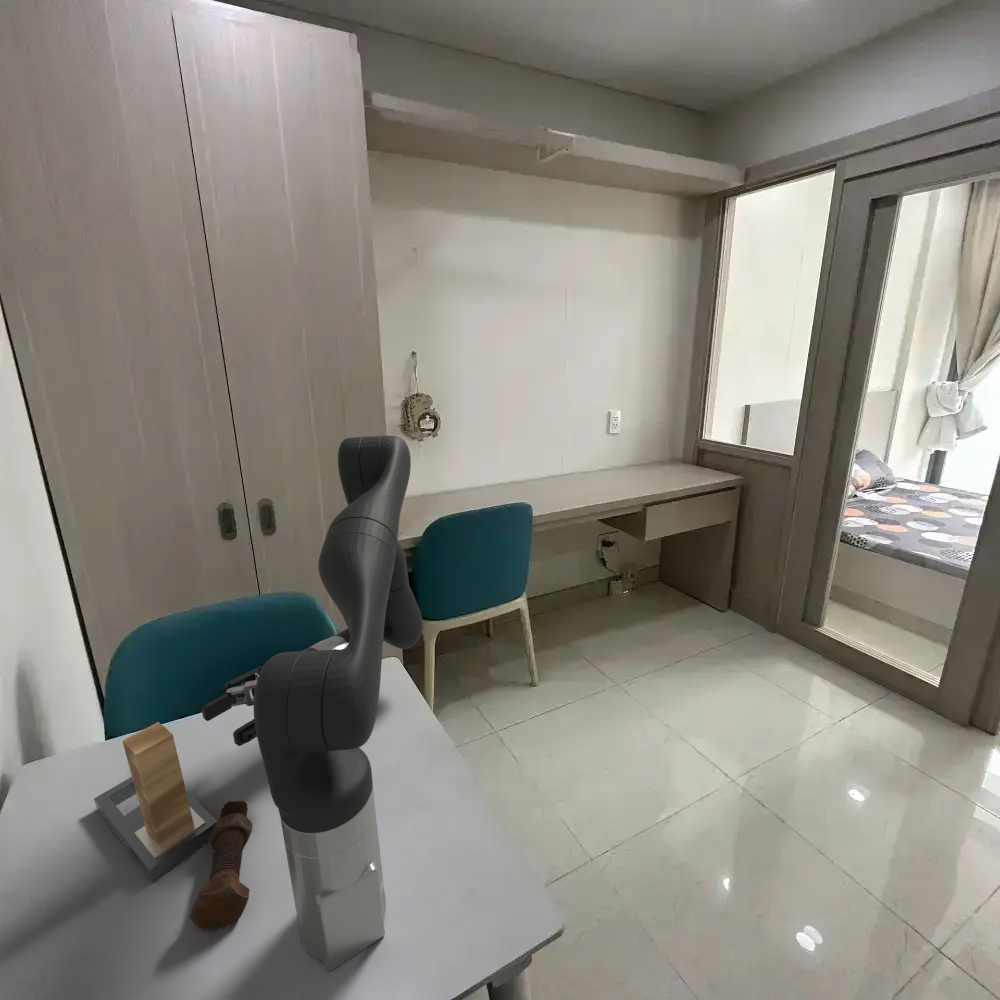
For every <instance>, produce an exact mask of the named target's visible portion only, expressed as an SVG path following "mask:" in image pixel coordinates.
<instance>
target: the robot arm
mask: <svg viewBox="0 0 1000 1000" xmlns="http://www.w3.org/2000/svg"><path fill="white" fill-rule="evenodd" d="M411 462H412V461H411V452H410V449H409V445H408V444H407V442H406V441H405V440H404V439H403V438H402V437H400V436H396V435H391V434H390V435H387V434H386V435H375V436H374V435H373V436H372V435H370V436H355V437H354V436H352V437H347V438H345V439H343V440H342V441H341V442H340V444H339V448H338V451H337V469H338V474H339V479H340V484H341V487H342V490H343V495H344V497H345V500H346V503H347V506H346V507H344V509H342V510H341V511H340V513H338V514H337V515H336V516H335V518H334V519H333V521H332V522H331V523H330V525H329V526H328V530H327V531H326V532H327V533H326V535H325V537H324V541H323V545H322V548H321V552H320V554H319V558H318V567H317V568H318V572H319V577H320V580H321V582H322V585H323V586H324V589H325V591H326V592H327V594H328V595H329V597H330V598H331V600H332V601H333V603H334V604H335V606H336V608H338V610H339V612H340V613H341V615H342V617H343V619H344V622H345V624H346V627H347V628H346V629H344V630H342V631H340V632H339V633H337V634H334V635H333V636H330V637H329V638H326V639H323V640H321V641H319V642H317V643H315V644H313V645H311V646H309V647H308V648H306V649H303V650H298V651H287V652H286V651H284V652H280V653H277V654H275V655H273V656H272V657H270V658H269V659H268V660H267V661H266V662H265V663H264V665H263V666H258V667H256V668H254V669H251V670H249V671H247V672H246V673H243V674H241V675H238V676H237V677H235V678H232V679H231V680H229V681H227V682H226V683H224V688H225V693H224V694H222V695H221V696H218V697H216V698H215V699H214V700H211V701H209V702H208V703H206V704H204V705H203V706H202V707H201V714H202V718H203V719H204V720H205V721H207V722H209V721H211V720H213V719H214V718H216V717H218V716H220V715H222V714H223V713H225V712H227V711H229V710H231V709H233V708H232V707H238V706H241V705H246V707H253V719H251V720H250V721H248V722H246V723H245V724H243V725H241V726H240V727H238V728H236V729H235V730H234V731H233V732H232V736H233V742H234V744H235V745H236V746H238V747H241V746H243V745H245V744H247V743H249V742H251V741H253V740H254V739H257V743H258V747H259V751H260V755H261V759H262V763H263V766H264V769H265V774H266V779H267V783H268V787H269V792H270V795H271V798H272V802H273V803H274V805H275V806H276V808H277V809H278V812H279V813H278V814H279V817H280V824H281V830H282V836H283V841H284V842H283V843H284V847H285V853H286V859H287V865H288V871H289V877H290V882H291V888H292V889H291V890H292V895H293V901H294V906H295V912H296V916H297V917H296V918H297V923H298V929H299V934H300V940H301V943H302V945H303V947H304V949H305V950H306V952H307V953H308V954H309V955H310V956H312V957H313V958H314V959H316V960H319V961H321V962H323V963H324V964H325V965H326V969H327V971H328V972H331V971H333V970H334V969H337V967H340V966H341V965H342V964H344V963H345V962H347V961H349V960H350V959H351V958H352V957H354V956H356V955H358V954H359V953H360V952H362V951H363V950H364V949H367V947H369V946H371V945H372V944H374V943H375V942H377V941H378V940H380V939H381V938H383V937H384V936H385V934H386V930H385V921H384V919H385V915H386V895H385V884H384V876H383V868H382V867H383V866H382V859H381V849H380V839H379V831H378V830H379V829H378V823H377V813H376V802H375V800H376V799H375V793H374V784H373V783H374V782H373V772H372V766H371V761H370V760H369V759H370V758H369V757H368V756H367V754H366V752H365V751H363V749H362V748H361V747H363V746H364V745H365V744H366V743H367V742H368V741H369V739H370V737H371V735H372V733H373V731H374V728H375V724H376V719H377V715H378V710H379V708H378V707H379V701H380V699H379V698H380V690H381V676H382V662H383V661H382V660H383V650H384V649H383V646H384V642H385V643H387V644H389V645H391V646H393V647H394V648H398V649H400V650H406V649H410V648H412V647H414V646H415V645H416V643H418V641H419V640H420V637H421V635H422V632H423V624H424V622H423V617H422V616H423V615H422V612H421V610H420V608H419V605H418V603H417V600H416V598H415V595H414V593H413V591H412V588H411V587H410V583H409V574H408V573H409V572H408V567H407V565H408V564H407V558H406V555H405V552H404V549H403V547H402V545H401V543H400V542H399V541H398V539H399V527H400V526H399V525H400V519H401V517H400V516H401V513H402V507H403V504H404V501H405V497H406V492H407V489H408V485H409V480H410V474H411V469H412V468H411V465H412V464H411ZM240 684H241V685H240ZM238 685H239V686H238ZM253 689H254V693H252V692H253V691H252V690H253ZM253 694H254V696H253ZM242 695H244V696H242ZM239 696H241V697H239Z"/></svg>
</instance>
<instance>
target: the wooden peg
mask: <svg viewBox="0 0 1000 1000" xmlns="http://www.w3.org/2000/svg"><path fill="white" fill-rule="evenodd" d="M121 741H122V745H123V749H124V751H125V756H126V759H127V764H128V767H129V771H130V774H131V777H132V779H133V783H134V786H135V790H136V794H135V795H136V798H137V801H138V804H139V805H138V806H140V809H141V812H142V816H143V820H144V824H145V827H146V831H147V832H148V833H149V834H150V836H151V837H152V838H153V839H154V840H155V841H156V843H157V844H158V845H159V846H160V847H161V846H162V845H164V844H165V843H167V842H168V841H169V840H171V839H172V838H174V837H175V836H177V835H178V834H179V833H181V832H182V831H184V830H185V829H187V828H188V827H189V826H191V825H192V824H194V823H193V819H192V814H191V810H190V806H189V801H188V797H187V793H186V791H187V790H186V786H185V781H184V777H183V773H182V768H181V764H180V760H179V754H178V752H177V746H176V741H175V738H174V734H173V733H172V732H171V731H170V730H168V728H167V727H166V726H164V725H162V724H161V723H160V722H159V721H157V722H155V723H153V724H152V725H150V726H147V727H145V728H143V729H142V730H140V731H138V732H136V733H134V734H132V735H130V736H129V737H126V738H125V739H123V740H121Z"/></svg>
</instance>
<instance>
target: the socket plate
mask: <svg viewBox="0 0 1000 1000" xmlns="http://www.w3.org/2000/svg"><path fill="white" fill-rule="evenodd" d="M186 793H187V797H188V801H189V806H190V810H191V814H192V819H193V823H194V824H192V825H191V826H189V827H188V828H187V829H185V830H184V831H182V832H181V833H179V834H178V835H177V836H175V837H174V838H172V839H171V840H169V841H168V842H167V843H165V844H164V845H162V846H161V847H160V846H159V845H158V844H157V843H156V841H155V840H154V839H153V838H152V837H151V836H150V834H149V833H148V832H147V831H146V827H145V824H144V820H143V816H142V812H141V809H140V805H138V807H135V808H134V809H132V810H131V811H129V812H127V813H126V814H123V812H122V811H121V810H120V809H119V808H118V805H119V804H121V803H122V802H124V801H125V800H128V799H129V798H131V797H132V796H134V795H137V794H136V790H135V786H134V783H133V779H132V776H130V777H129V778H127V779H125V780H124V781H122V782H120V783H118V784H117V785H115V786H113V787H111V788H110V789H108V790H106V791H104V792H103V793H101V794H99V795H97V796H96V797H94V798H93V801H94V804H95V808H96V810H97V812H98V813H99V814H100V816H101V817H102V818H103V820H104V821H105V822H106V823H107V825H108V826H109V827H110V829H111V830H112V831H113V833H114V834H115V835H116V837H117V838H118V839H119V840H120V842H121V843H122V845H123V846H124V847H125V848H126V850H127V851H128V852H129V854H130V855H131V856H132V858H133V859H134V860H135V862H136V863H137V864H138V865H139V867H140V868H141V869H142V871H143V872H144V873H145V875H146V876H147V877H148V878H149V879H150V882H151V883H155V882H156V881H158V879H160V878H162V877H163V876H164V875H166V874H167V873H168V872H170V871H171V870H172V869H174V868H175V867H177V866H178V865H179V864H181V863H182V862H183V861H184V860H186V859H187V858H188V857H190V856H191V855H193V854H194V853H195V852H196V851H198V850H199V849H201V848H202V847H203V846H205V845H206V844H207V843H209V839H210V835H211V833H212V830H213V828H214V826H215V824H216V822H217V820H216V819H215V818H214V817H213V816H212V815H211V814H210V813H209V812H208V811H207V810H206V809H205V808H204V807H203V806H202V805H201V804H200V803H199V802H198V801H197V800H196V799H195V798H194V797H193V796H192V795H191V794H190V793H189V792H188V791H187V790H186Z"/></svg>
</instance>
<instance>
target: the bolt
mask: <svg viewBox="0 0 1000 1000" xmlns="http://www.w3.org/2000/svg"><path fill="white" fill-rule="evenodd" d="M223 804H224V803H223ZM247 816H248V803H247V801H245V800H228V801H226V802H225V804H224V805H223V806H222V808H221V811H220V817H219V819H218V820H216V821H217V822H216V824H215V826H214V828H213V830H212V833H211V835H210V839H209V842H208V845H209V846H210V848H211V849H212V850H213V857H212V861H211V868H210V873H209V877H208V882H207V884H204V885H202V886H201V889H200V890H199V892H198V895H197V897H196V899H195V902H194V903H193V905H192V907H191V911H190V917H189V919H190V921H192V923H193V925H195V927H197V928H198V929H201V930H202V931H203V930H204V931H218V930H220V929H223V928H226V927H228V926H230V925H233V924H234V923H235V922H238V920H239V919H240V918H241V917H242V915H243V913H244V911H245V909H246V906H247V904H248V901H249V898H250V888H249V887H247V886H246V885H245V884H243V883H242V882H241V881H240V875H241V874H240V873H241V867H242V865H241V864H242V859H243V857H242V856H243V850H244V849H243V848H245V846H246V845H247V843H248V841H249V839H250V837H251V834H252V831H253V824H254V823H253V822H252V821H251V820H250V818H248V817H247Z"/></svg>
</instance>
